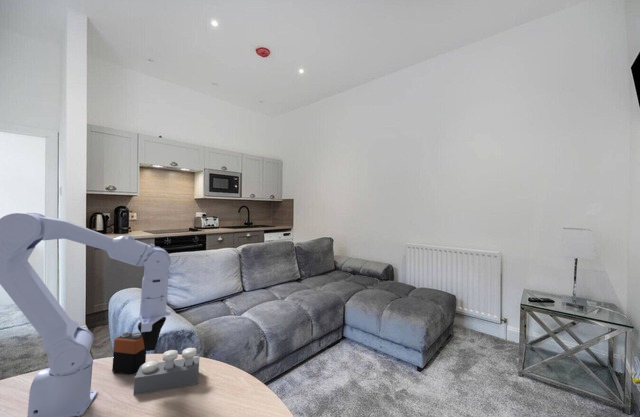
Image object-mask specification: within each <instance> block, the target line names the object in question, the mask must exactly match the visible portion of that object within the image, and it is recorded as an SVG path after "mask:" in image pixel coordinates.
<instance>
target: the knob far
mask: <svg viewBox="0 0 640 417" xmlns="http://www.w3.org/2000/svg"><path fill="white" fill-rule="evenodd" d="M181 357H182V358H181V359H185V367H186V366H193V358H195V357H197V348H196V347H187V348H185V349H183V350H182V355H181Z"/></svg>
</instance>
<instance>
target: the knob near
mask: <svg viewBox="0 0 640 417" xmlns="http://www.w3.org/2000/svg"><path fill="white" fill-rule="evenodd" d="M158 363H159V362H158V361H156V360H150V361H147V362H146V363H144V364H143V365H142V373H150V372H153V371H155V370H156V369H157V365H158Z"/></svg>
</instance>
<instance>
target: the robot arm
mask: <svg viewBox="0 0 640 417" xmlns="http://www.w3.org/2000/svg"><path fill="white" fill-rule="evenodd" d="M62 239H63V240H68V241H71V242H75V243H78V244H83V245H85V246H89V247H92V248H96V249H100V250H104V251H105V252H106V253H107V255H108V257H109V258H110V259H112V260H116V261H119V262H121V263H126V264H128V265H132V266H136V267H143V268H144V270H143V277H142V281H141V292H140V293H141V294H140V307H139V308H140V309H139V314H138V319H139V321H140V322H139V323H138V324H137V329H138V331H139V332H140V333H141V335H142V337H143V342H144V348H145V351H146V352H150V351H155V350H156V348H157V346H158V342H159V338H160V334H161V330H162V328H163V326H164V325H165V324H166V323H165V322H166V320H167V317H168V316H171V314H172V310H171V309H170V310H169V309H168V310H167V303H168V302H167V301H168V290H169V289H168V285H169V276H168V275H169V268H170V266H171V265H172V260H171V256H170V254H169V252H168V251H167V250H165V249H164V248H162V247H160V246H156V245H155V244H153V243H150V244H148V243H145V242H142V241H140V240H137V239H136V237H135V236H133V235H128V236H125V235H120V236H117V237H112V236H109V235H106V234H103V233H101V232H98V231H96V230H92V229H90V228H88V227H84V226H82V225H79V224H77V223H74V222H71V221H69V220H65V219H61V218H57V217H53V216H45V215H43V214H41V213H37V212H26V213H24V212H14V213H9V214H6V215H4V216H2V217H1V218H0V286H1V288H2V289H3V290H4V291H5V292H6V293H7V295H8V296H9V298H10V299H11V300H12V301H13V303H14V304H15V305H16V306H17V308H18V309H19V310H20V311H21V313H22V314H23V315H24V317H25V318H26V319H27V320H28V322H29V323H30V325H31V326H32V327H33V328H34V329H35V330H36V332H37V333H38V334H39V336H40V337H41V339H42V345H43V351H44V353H45V354H46V355H47V357H48V364H47V365H48V368H43V369H41V370H40V371H39V370H38V372H37V373H36V375H35V376H34V377H33V380H32V382H31V384H30V387H29V394H28V407H27V417H79V416H83V415H85V413H86V411H87V409H88V408H89V406H90V405H91V404H92V402H93V400H94V399H95V397H96V396H97V394H98V390H92V379H93V377H92V376H93V364H94V358H93V357H92V356H91V354H90V351H91V347H92V346H93V343H94V339H95V338H94V335H93V334H94V333H92V331H90V330H89V329H86V328H84V327H82V326H81V325H80V324H79V323H78V322H77V321H76V320H74V319H71V318H70V316H69V315H68V314H67V312H66V310H64V308H63V307H62V305H61V304H60V303H59V301H58V300H57V299H56V297H55V296H54V295H53V293H52V291H50V289H49V288H48V286H47V285H46V284H45V282H44V281H43V279H42V278H41V277H40V276H39V274H38V273H37V272H36V270H35V269H34V268H33V266H32V265H31V263H30V262H29V259H30V256H31V255H32V253H33V252H34V250H35V249H36V247H37V245H38V244H39V243H41V241H54V240H62Z"/></svg>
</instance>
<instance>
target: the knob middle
mask: <svg viewBox="0 0 640 417" xmlns="http://www.w3.org/2000/svg"><path fill="white" fill-rule="evenodd" d="M178 355H179V351H178V350H176V349H169V350H167V351H164V352H163V354H162V362H165V370H166V369H172V368H174V360H177V359H178Z"/></svg>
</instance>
